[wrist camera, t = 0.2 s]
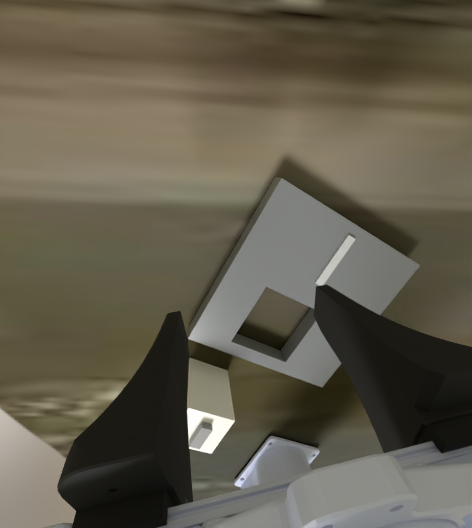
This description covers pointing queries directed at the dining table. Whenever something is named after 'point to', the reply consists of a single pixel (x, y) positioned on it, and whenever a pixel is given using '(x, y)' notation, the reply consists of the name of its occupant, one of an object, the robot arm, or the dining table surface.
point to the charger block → (208, 405)
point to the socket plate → (297, 279)
